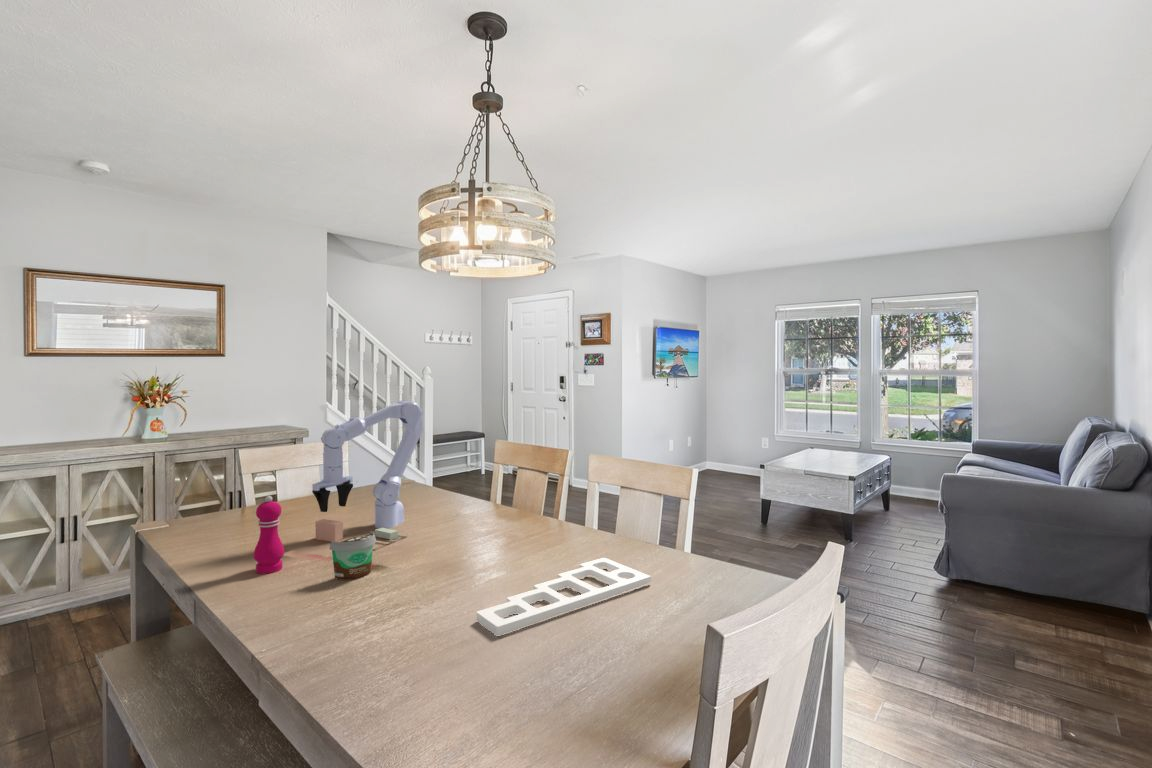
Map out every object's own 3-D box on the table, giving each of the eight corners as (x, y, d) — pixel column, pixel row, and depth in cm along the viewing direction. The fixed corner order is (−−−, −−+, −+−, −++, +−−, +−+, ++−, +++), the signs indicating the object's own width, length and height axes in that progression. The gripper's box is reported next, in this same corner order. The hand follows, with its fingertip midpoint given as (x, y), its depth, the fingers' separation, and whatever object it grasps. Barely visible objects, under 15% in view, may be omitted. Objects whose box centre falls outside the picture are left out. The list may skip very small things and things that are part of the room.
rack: (377, 536, 180) (377, 532, 179) (407, 541, 175) (407, 536, 175) (341, 550, 166) (341, 545, 166) (373, 556, 161) (373, 551, 161)
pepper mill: (271, 575, 146) (270, 499, 145) (247, 573, 147) (246, 498, 146) (290, 566, 153) (290, 493, 152) (267, 564, 154) (267, 492, 154)
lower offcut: (378, 539, 178) (378, 533, 178) (401, 543, 175) (401, 537, 175) (371, 542, 175) (371, 536, 175) (394, 546, 172) (394, 539, 172)
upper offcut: (382, 533, 178) (382, 527, 178) (397, 537, 174) (397, 530, 174) (374, 536, 175) (374, 529, 175) (390, 539, 172) (390, 533, 172)
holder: (497, 640, 113) (497, 626, 113) (456, 609, 127) (456, 598, 127) (651, 586, 141) (651, 576, 141) (604, 566, 155) (604, 557, 155)
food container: (342, 585, 139) (342, 546, 139) (329, 579, 143) (329, 541, 143) (385, 571, 149) (385, 534, 149) (372, 566, 153) (372, 530, 152)
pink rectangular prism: (323, 541, 175) (323, 519, 175) (342, 544, 172) (342, 521, 172) (315, 543, 172) (315, 521, 172) (335, 547, 169) (335, 524, 169)
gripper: (340, 462, 186) (341, 502, 186) (304, 469, 172) (305, 512, 173) (357, 463, 183) (357, 504, 183) (322, 470, 170) (322, 515, 170)
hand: (333, 508), depth 178 cm, fingers open, 7 cm apart
